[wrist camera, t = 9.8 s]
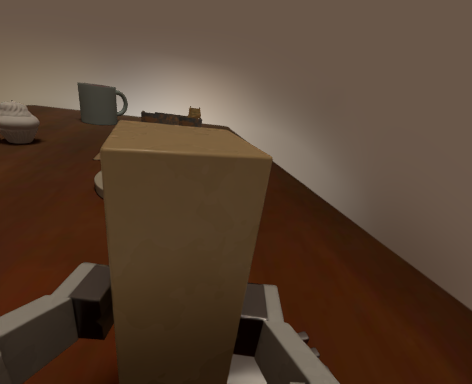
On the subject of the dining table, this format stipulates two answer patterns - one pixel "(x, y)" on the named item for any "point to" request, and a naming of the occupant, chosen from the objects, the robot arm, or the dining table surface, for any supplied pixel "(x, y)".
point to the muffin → (17, 123)
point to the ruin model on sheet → (171, 120)
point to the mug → (99, 104)
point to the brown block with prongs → (181, 250)
